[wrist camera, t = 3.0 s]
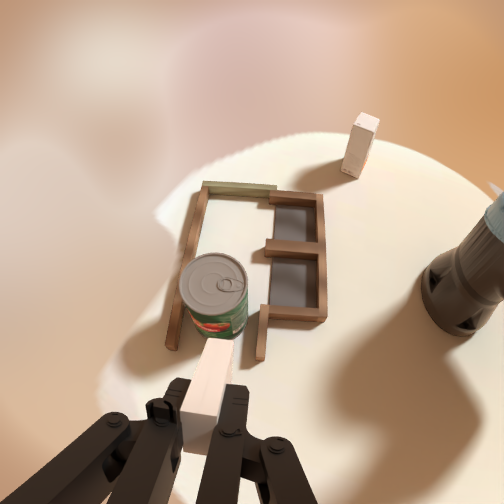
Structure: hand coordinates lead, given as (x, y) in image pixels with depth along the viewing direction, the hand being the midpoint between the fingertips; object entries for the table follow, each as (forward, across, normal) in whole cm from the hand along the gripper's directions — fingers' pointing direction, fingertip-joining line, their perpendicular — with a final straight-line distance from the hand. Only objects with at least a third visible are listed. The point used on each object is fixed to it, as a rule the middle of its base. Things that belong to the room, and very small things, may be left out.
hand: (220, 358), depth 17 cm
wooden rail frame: (+32, +1, -2) cm, 32 cm away
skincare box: (+49, +19, +16) cm, 55 cm away
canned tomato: (+25, -3, -9) cm, 27 cm away
